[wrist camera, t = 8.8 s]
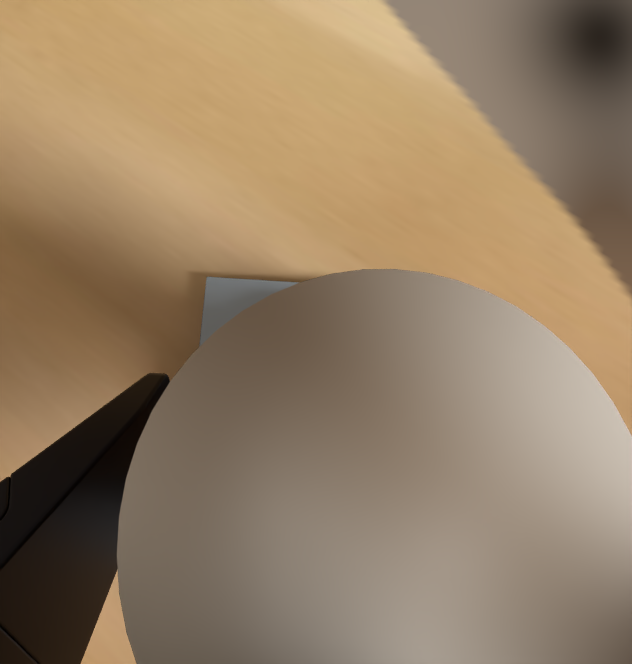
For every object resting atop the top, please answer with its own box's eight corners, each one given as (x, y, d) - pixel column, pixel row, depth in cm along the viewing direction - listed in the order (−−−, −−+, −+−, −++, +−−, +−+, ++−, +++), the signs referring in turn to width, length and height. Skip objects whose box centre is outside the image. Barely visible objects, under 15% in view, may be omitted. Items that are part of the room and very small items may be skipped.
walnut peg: (339, 538, 17) (442, 1013, 4) (232, 441, 17) (0, 565, 4) (428, 424, 17) (760, 493, 5) (322, 336, 18) (353, 176, 5)
